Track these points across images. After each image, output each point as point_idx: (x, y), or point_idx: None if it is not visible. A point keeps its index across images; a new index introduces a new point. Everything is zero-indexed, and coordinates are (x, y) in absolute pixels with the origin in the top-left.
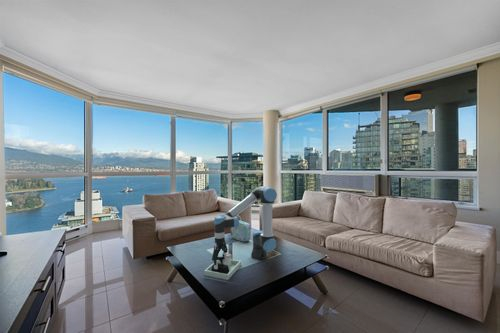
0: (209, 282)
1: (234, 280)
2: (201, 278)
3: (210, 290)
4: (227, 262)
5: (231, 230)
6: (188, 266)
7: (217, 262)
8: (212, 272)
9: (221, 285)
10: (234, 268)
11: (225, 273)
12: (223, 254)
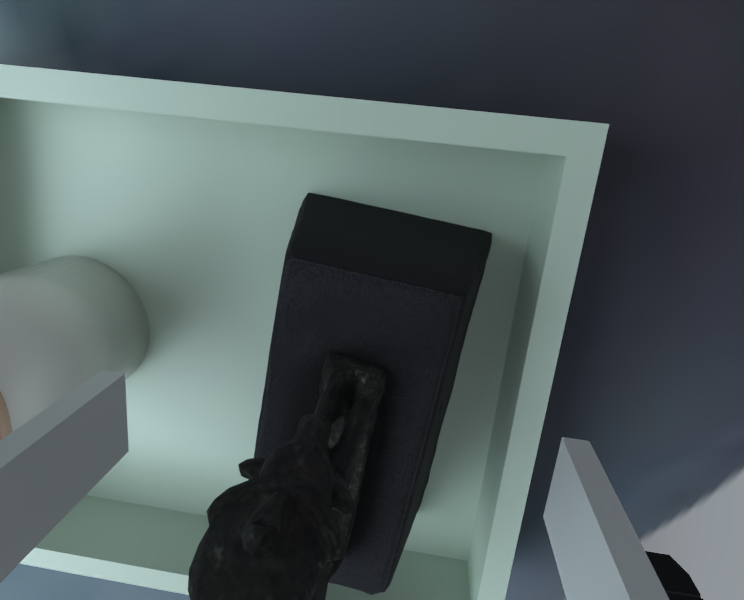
0: (651, 434)
1: (516, 2)
2: (549, 583)
3: None
4: (78, 339)
5: None
6: None
7: (619, 567)
8: (526, 494)
9: (732, 197)
10: (240, 88)
11: (447, 239)
12: (212, 589)
